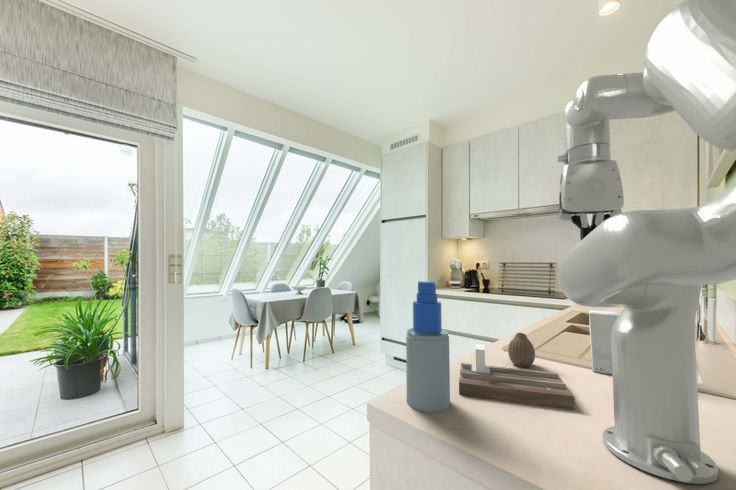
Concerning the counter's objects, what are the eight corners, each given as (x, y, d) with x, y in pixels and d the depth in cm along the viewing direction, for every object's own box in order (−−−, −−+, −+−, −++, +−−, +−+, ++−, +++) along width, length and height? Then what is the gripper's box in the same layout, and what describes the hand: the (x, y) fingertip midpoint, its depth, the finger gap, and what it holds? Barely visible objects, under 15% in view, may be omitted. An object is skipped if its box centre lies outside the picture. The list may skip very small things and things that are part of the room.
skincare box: (622, 377, 78) (619, 315, 79) (590, 371, 82) (588, 312, 83) (620, 368, 85) (618, 311, 86) (591, 363, 89) (589, 308, 90)
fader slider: (490, 378, 70) (489, 350, 71) (471, 375, 72) (471, 348, 72) (489, 370, 75) (488, 344, 76) (471, 368, 76) (471, 343, 77)
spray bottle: (398, 404, 63) (398, 281, 65) (418, 389, 71) (417, 279, 72) (439, 416, 58) (438, 283, 60) (456, 399, 66) (454, 281, 67)
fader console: (574, 409, 61) (574, 391, 61) (459, 394, 68) (458, 377, 68) (556, 383, 74) (556, 368, 75) (461, 372, 81) (461, 359, 82)
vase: (536, 363, 89) (535, 332, 89) (534, 370, 83) (533, 337, 83) (510, 359, 92) (509, 330, 93) (506, 366, 87) (505, 334, 87)
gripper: (550, 156, 62) (553, 247, 61) (641, 148, 58) (646, 246, 57) (542, 167, 69) (544, 249, 68) (622, 160, 65) (626, 248, 64)
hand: (590, 247), depth 63 cm, fingers closed
